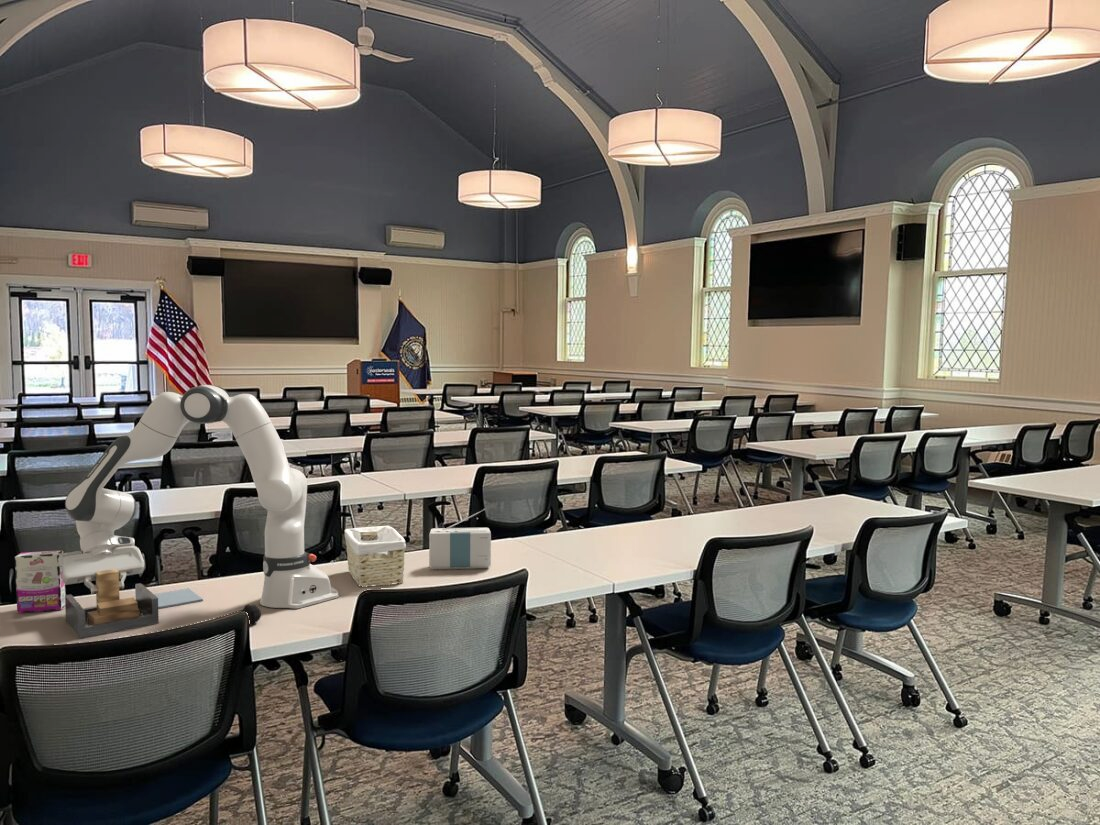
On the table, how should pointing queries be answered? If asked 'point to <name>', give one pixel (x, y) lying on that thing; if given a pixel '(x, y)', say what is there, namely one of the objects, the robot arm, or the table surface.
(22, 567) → the candy bar box
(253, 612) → the microphone
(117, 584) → the tan wooden block
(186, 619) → the table surface
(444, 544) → the stereo radio cassette player
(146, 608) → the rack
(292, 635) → the table surface
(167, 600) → the slate mat
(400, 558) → the storage basket
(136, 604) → the offcut stack
